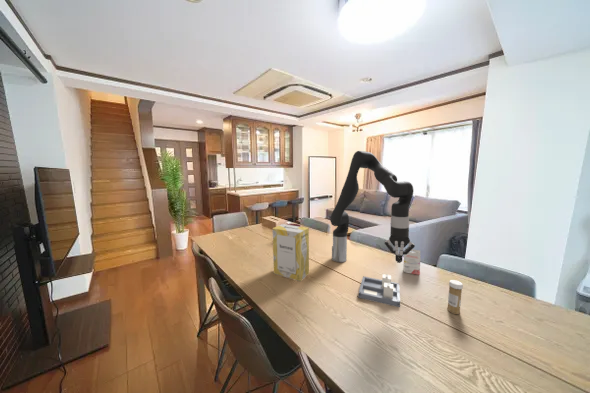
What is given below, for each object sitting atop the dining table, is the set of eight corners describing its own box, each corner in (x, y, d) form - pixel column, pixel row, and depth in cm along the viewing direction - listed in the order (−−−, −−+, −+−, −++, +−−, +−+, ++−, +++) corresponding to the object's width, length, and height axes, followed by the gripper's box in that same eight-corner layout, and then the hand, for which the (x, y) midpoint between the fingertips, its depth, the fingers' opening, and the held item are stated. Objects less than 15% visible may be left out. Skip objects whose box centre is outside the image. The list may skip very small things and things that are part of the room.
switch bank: (358, 297, 102) (358, 292, 102) (362, 280, 118) (363, 276, 117) (399, 307, 95) (400, 302, 95) (398, 287, 110) (399, 283, 110)
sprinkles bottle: (462, 313, 90) (465, 284, 89) (454, 315, 89) (456, 285, 88) (452, 306, 95) (455, 278, 93) (444, 308, 94) (446, 280, 92)
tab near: (383, 297, 100) (383, 285, 99) (383, 293, 103) (384, 281, 102) (392, 299, 98) (393, 287, 97) (392, 295, 102) (393, 283, 101)
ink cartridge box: (419, 271, 127) (420, 247, 125) (419, 275, 123) (421, 250, 121) (403, 268, 131) (404, 245, 129) (403, 272, 127) (404, 248, 125)
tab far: (381, 287, 108) (382, 276, 107) (382, 283, 111) (382, 273, 111) (390, 289, 106) (391, 278, 105) (390, 285, 110) (391, 274, 109)
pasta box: (273, 273, 127) (272, 228, 123) (283, 266, 136) (282, 224, 132) (300, 281, 118) (299, 232, 114) (308, 273, 127) (308, 227, 123)
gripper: (383, 226, 96) (383, 263, 98) (417, 228, 90) (415, 267, 92) (384, 222, 103) (383, 257, 104) (415, 224, 97) (414, 261, 99)
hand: (398, 262), depth 98 cm, fingers closed
